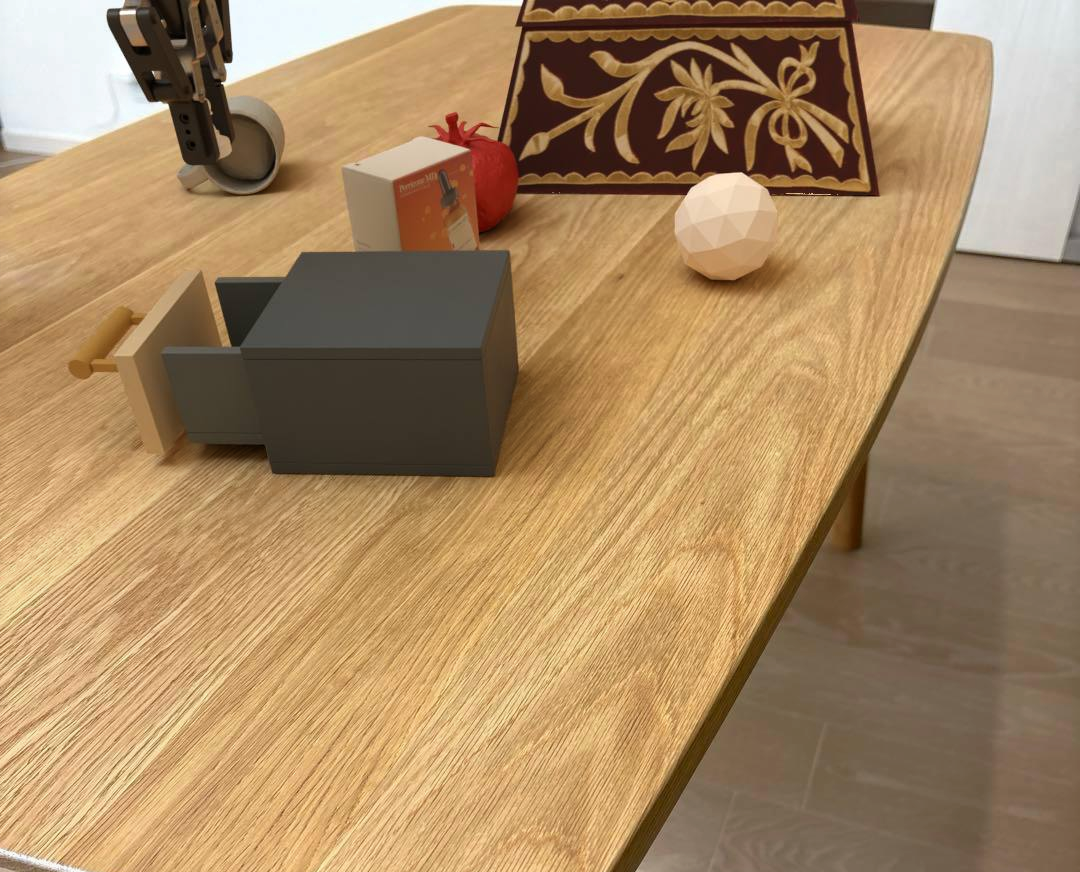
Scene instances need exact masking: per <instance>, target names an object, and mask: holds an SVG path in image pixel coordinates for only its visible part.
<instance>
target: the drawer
mask: <svg viewBox="0 0 1080 872" xmlns="http://www.w3.org/2000/svg"><path fill="white" fill-rule="evenodd" d="M285 277H286V276H219V277H217V278H216V280H215V281H214V286H215V290H216V294H217V298H218V301H219V305H220V309H221V312H222V313H221V314H222V317H223V321H224V325H225V328H226V331H227V335H228V339H229V343H230V344H229V345H230V346H223V344H222V341H221V337H220V333H219V329H218V325H217V322H216V319H215V314H214V310H213V306H212V304H211V303H212V302H211V299H210V296H209V293H208V289H207V285H206V281H205V277H204V273H203V270H202V269H184V270H183V271H182V272H181V273H180V274H179V276H178V277H177V278H176V279H175V281H174V282H172V284H171V285H170V286H169V288H167V290H166V291H165V293H163V295H162V296H161V297H160V298H159V300H158V301H157V302H156V303H155V304H154V306H153V307H152V308H151V309H150V311H149V312H147V313H145V312H144V313H141V312H140V313H138V312H137V313H135V312H134V311H133V310H132V309H131V308H130V307H127V306H124V305H123V306H122V305H121V306H118V307H116V308H115V309H114V311H113V312H112V313H111V314H110V315H109V316H108V317H107V318H106V320H105V321H103V323H102V324H101V325H100V326H99V328H98V329H97V330H96V331H95V332H94V333H93V334H92V336H91V337H90V338H89V339H88V340H87V341H86V343H84V345H83V346H82V347H81V348H80V349H79V350H78V351H77V352H76V354H75V355H73V357H72V358H71V359H70V360H69V361H68V363H67V369H68V371H69V373H70V374H71V376H73V377H75V378H76V379H79V380H88V379H90V377H91V376H92V375H93V373H118V374H119V377H120V380H121V383H122V386H123V389H124V391H125V394H126V397H127V400H128V403H129V406H130V408H131V409H130V410H131V412H132V415H133V417H134V421H135V424H136V426H137V429H138V432H139V435H140V438H141V440H142V444H143V447H144V450H145V452H146V454H147V455H166V453H167V452H168V450H169V449H170V447H171V445H173V443H174V441H175V440H176V438H177V437H178V435H179V434H180V432H181V431H182V429H184V432H185V436H186V439H187V443H188V444H189V445H191V444H192V445H194V444H195V445H199V444H200V445H203V444H204V445H264V446H265V444H264V440H263V436H262V432H261V428H260V425H259V421H258V417H257V413H256V409H255V405H254V401H253V397H252V394H251V390H250V386H249V382H248V378H247V374H246V370H245V367H244V363H243V358H242V354H241V350H240V346H241V344H242V343H243V341H244V340H245V338H246V337H247V335H248V334H249V332H250V331H251V329H252V328H253V326H254V324H255V323H256V321H257V320H258V318H259V317H260V315H261V314H262V312H263V311H264V309H265V308H266V306H267V305H268V303H269V301H270V300H271V298H272V297H273V295H274V294H275V292H276V291H277V289H278V288H279V286H280V285H281V283H282V281H283V280H284V278H285ZM133 326H136V327H135V329H134V330H133V331H132V332H131V333H130V335H129V336H128V337H127V338H126V339H125V341H124V342H123V343H122V344H121V346H120V347H119V348H118V349H117V350H116V352H115V353H114V354H113V356H112V357H113V358H107V357H108V356H109V355H110V353H111V352H112V351H113V349H114V348H116V346H117V345H118V344H119V342H120V341H121V340H122V339H123V337H124V336H125V335H126V334H127V333H128V332H129V330H131V328H132V327H133Z"/></svg>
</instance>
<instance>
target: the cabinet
mask: <svg viewBox="0 0 1080 872" xmlns="http://www.w3.org/2000/svg"><path fill="white" fill-rule="evenodd" d="M284 277H285V278H284V280H283V281H282V283H281V285H280V286H279V288H278V289H277V291H276V292H275V294H274V295H273V297H272V298H271V300H270V301H269V303H268V305H267V306H266V308H265V309H264V311H263V312H262V314H261V315H260V317H259V318H258V320H257V321H256V323H255V324H254V326H253V328H252V329H251V331H250V332H249V334H248V335H247V337H246V338H245V340H244V341H243V343H242V344H241V346H240V350H241V354H242V358H243V363H244V367H245V370H246V374H247V378H248V382H249V386H250V390H251V394H252V397H253V401H254V405H255V409H256V413H257V417H258V421H259V425H260V428H261V432H262V436H263V440H264V444H265V445H264V447H265V451H266V455H267V459H268V463H269V466H270V469H271V473H272V474H303V475H304V474H307V475H308V474H312V475H314V474H316V475H371V476H372V475H373V476H374V475H375V476H376V475H378V476H439V477H441V476H444V477H445V476H446V477H494V476H495V473H496V469H497V465H498V460H499V456H500V452H501V447H502V443H503V438H504V434H505V430H506V425H507V422H508V417H509V412H510V409H511V408H510V407H511V405H512V399H513V397H514V396H513V394H514V392H515V391H514V390H515V386H516V383H517V378H518V374H519V369H520V368H519V353H518V352H519V351H518V340H517V327H516V314H515V313H516V311H515V300H514V299H515V298H514V289H513V287H514V286H513V274H512V262H511V251H510V249H493V250H492V249H487V250H486V249H483V250H481V249H480V250H471V251H361V252H355V251H301V252H300V253H299V255H298V257H297V258H296V260H295V261H294V263H293V265H292V266H291V268H290V269H289V271H288V272H287V274H286V275H285V276H284Z"/></svg>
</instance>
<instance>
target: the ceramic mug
mask: <svg viewBox="0 0 1080 872" xmlns="http://www.w3.org/2000/svg"><path fill="white" fill-rule="evenodd" d="M227 102H228V106H229V110H230V115H231V119H232V123H233V128H234V132H235V137H236V138H235V141H234V142H233V143H232V145H231V148H232V151H231V153H230V154H229V155H228V156H226V157H224V158H221V159H218V160H217V161H216V162H215V163H214V164H213V165H188V164H187V163H185V164H184V165H182V167H181V168H180V169H179V170H178V171H177V172H176V178H177V179H178V180H179V182H180V183H181V185H182V186H183V187H184V188H185V189H192V188H196V187H198V186H199V185H201V184H203V183H205V182H206V181H208V180H209V181H210V182H211V183H212V184H213V185H215V186H216V187H217V188H219V189H221V190H223V191H225V192H227V193H230V194H235V195H252V194H255V193H256V194H257V193H258V192H261V191H262V190H264V189H266V188H267V187H268V186H270V185H271V183H272V182H273V181H274V179H276V176H277V175H278V172H279V168H280V167H281V166H280V165H281V161H282V157H283V154H284V150H285V145H286V134H285V133H286V132H285V129H284V126H283V122H282V119H281V118H280V116H279V115H278V113H277V112H276V110H274V108H273V107H272V106H271V105H270V104H268V103H267V102H265V101H264V100H263V99H260V98H257V97H256V96H252V95H235V96H231V97H228V98H227Z"/></svg>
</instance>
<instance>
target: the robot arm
mask: <svg viewBox="0 0 1080 872" xmlns="http://www.w3.org/2000/svg"><path fill="white" fill-rule="evenodd" d="M105 16H106V23H107V26H108V28H109V30H110V32H111V34H112V36H113V38H114V40H115V42H116V44H117V46H118V48H119V49H120V52H121V54H122V55H123V57H124V59H125V61H126V63H127V64H128V67H129V69H130V70H131V72H132V74H133V76H134V77H135V80H136V82H137V84H138V86H139V87H140V89H141V91H142V93H143V95H144V97H145V99H146V100H147V102H148V103H159V102H161V104H163V105H168V108H169V112H170V116H171V120H172V124H173V127H174V132H175V135H176V139H177V143H178V147H179V150H180V155H181V157H182V160H183V162H184V163H185V164H186V163H187V164H188V165H213V164H214V163H215V162H216V161H217V160H218V159H219V158H220V151H219V147H218V143H217V139H216V135H215V131H214V126H215V128H216V130H219V134H220V135H223V136H226V137H228V138H229V140H230V144H231V145H232V143H233V142H234V141H235V138H236V137H235V132H234V128H233V123H232V119H231V115H230V110H229V106H228V102H227V99H228V98H227V94H226V90H225V85H224V83H225V82H227V75H228V74H227V72H228V71H227V68H226V65H225V64H232V63H233V60H234V51H233V39H232V26H231V13H230V0H124V3H123V6H122V7H115V8H113V7H112V8H108V9H107V10H106V15H105ZM205 98H206V99H207V100H208V101H209V102H210V105H211V111H212V112H213V114H212V115H211V114H210V110H209V106H208V102H207V100H205ZM213 125H214V126H213Z"/></svg>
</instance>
